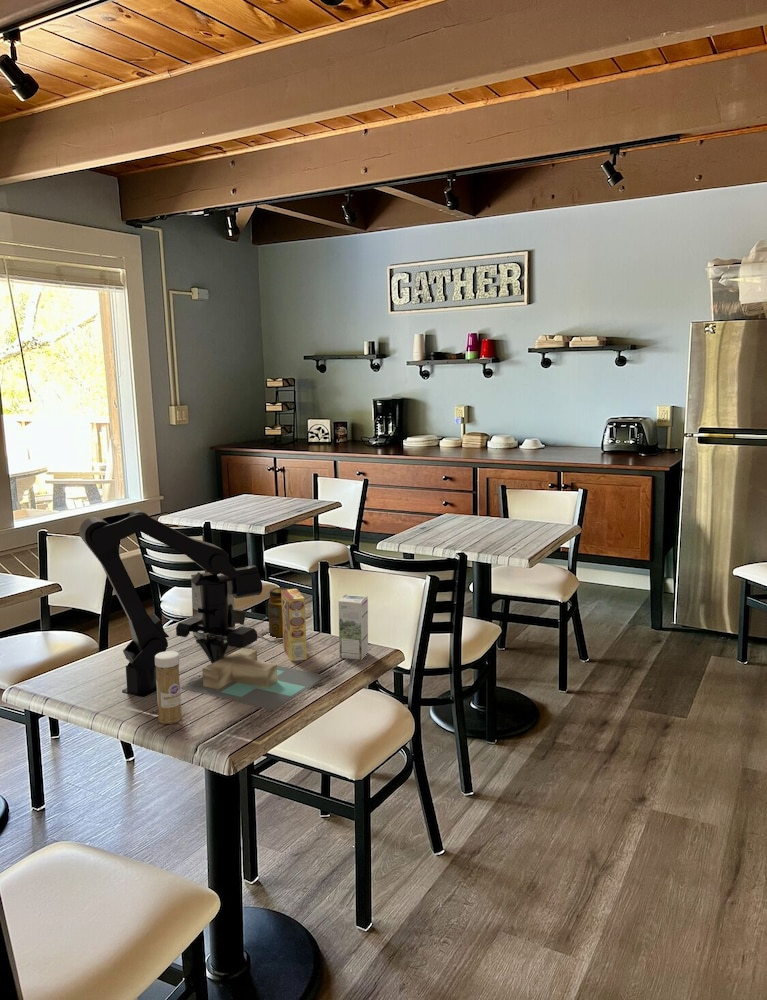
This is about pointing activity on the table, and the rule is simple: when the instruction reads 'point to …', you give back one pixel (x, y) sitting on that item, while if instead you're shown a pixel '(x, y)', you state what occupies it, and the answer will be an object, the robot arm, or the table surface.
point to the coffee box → (198, 602)
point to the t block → (240, 670)
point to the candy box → (294, 624)
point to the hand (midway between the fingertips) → (217, 668)
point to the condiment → (275, 614)
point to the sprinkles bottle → (168, 687)
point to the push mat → (263, 689)
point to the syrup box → (353, 626)
